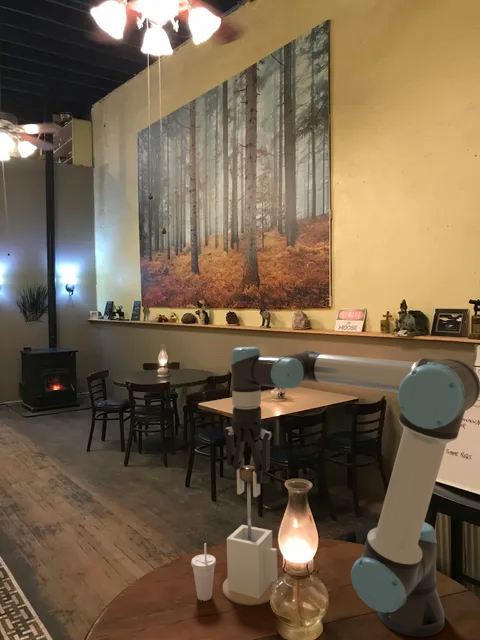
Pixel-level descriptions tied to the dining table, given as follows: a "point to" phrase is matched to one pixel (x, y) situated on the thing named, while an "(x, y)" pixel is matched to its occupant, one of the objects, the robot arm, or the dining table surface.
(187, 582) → the dining table surface
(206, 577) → the smoothie
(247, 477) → the plunger
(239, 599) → the press
